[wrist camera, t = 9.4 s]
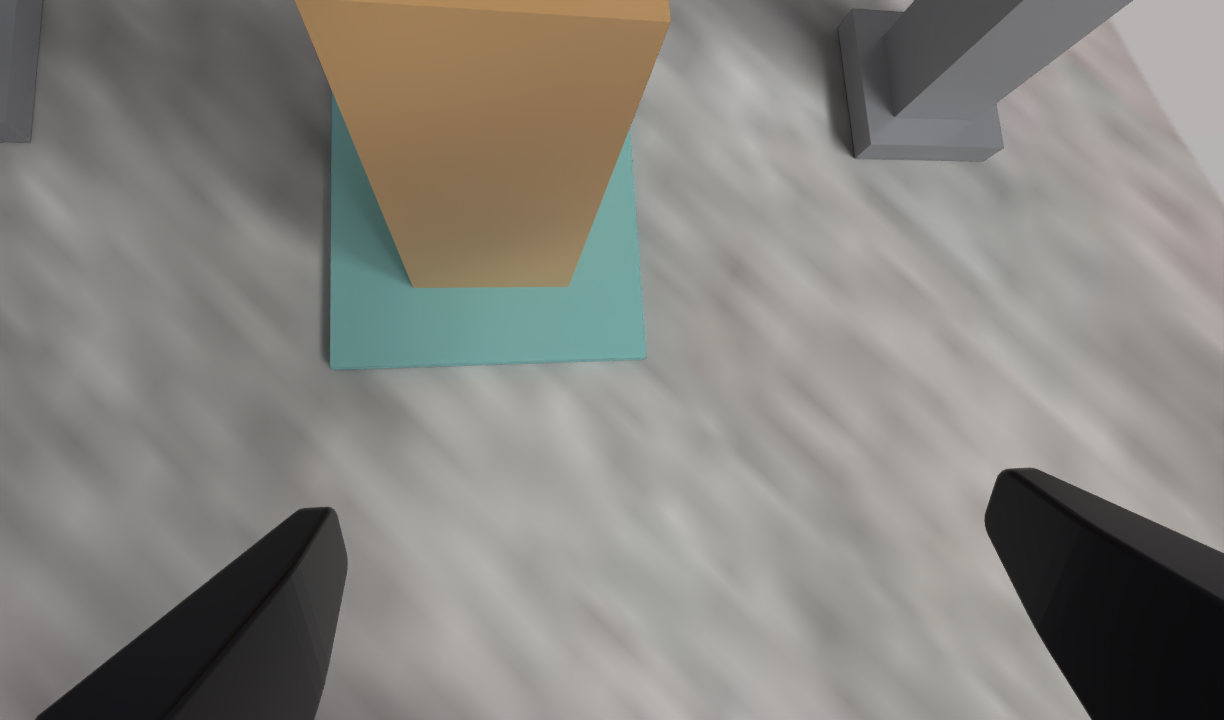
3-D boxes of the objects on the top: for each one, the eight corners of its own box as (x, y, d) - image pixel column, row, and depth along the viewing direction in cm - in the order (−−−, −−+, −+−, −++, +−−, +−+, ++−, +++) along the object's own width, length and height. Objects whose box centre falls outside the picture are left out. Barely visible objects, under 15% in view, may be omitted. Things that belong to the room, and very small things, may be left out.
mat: (643, 359, 21) (646, 357, 20) (333, 370, 19) (329, 367, 19) (624, 90, 22) (626, 83, 22) (334, 78, 21) (331, 71, 20)
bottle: (568, 286, 20) (761, -214, 6) (412, 287, 19) (174, -292, 5) (561, 147, 21) (716, -611, 6) (412, 142, 20) (201, -735, 6)
